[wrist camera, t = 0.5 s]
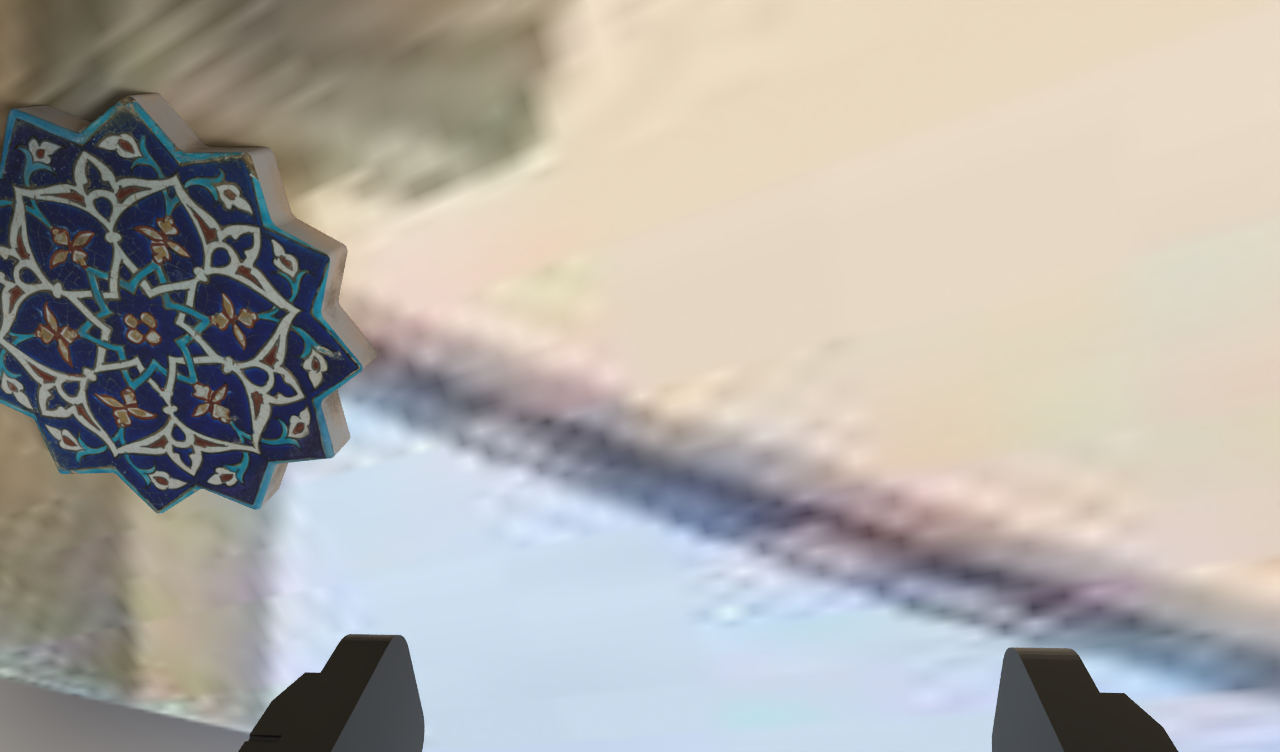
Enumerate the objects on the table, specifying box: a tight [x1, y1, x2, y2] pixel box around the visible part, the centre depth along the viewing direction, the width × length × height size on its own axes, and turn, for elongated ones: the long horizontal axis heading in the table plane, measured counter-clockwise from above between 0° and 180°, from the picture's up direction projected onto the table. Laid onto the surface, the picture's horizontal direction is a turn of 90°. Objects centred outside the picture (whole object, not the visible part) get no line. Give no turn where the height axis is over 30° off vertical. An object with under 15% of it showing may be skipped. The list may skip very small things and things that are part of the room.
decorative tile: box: [0, 93, 378, 514], centre depth 38 cm, size 20×20×2 cm
